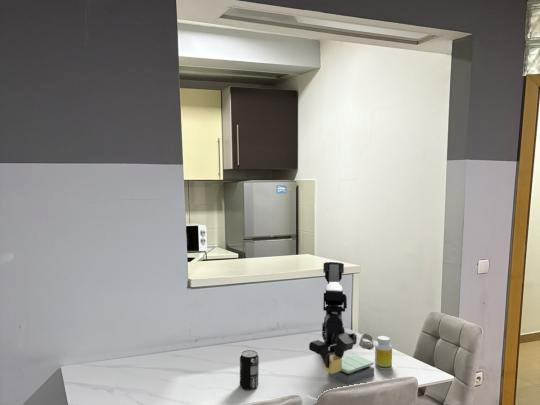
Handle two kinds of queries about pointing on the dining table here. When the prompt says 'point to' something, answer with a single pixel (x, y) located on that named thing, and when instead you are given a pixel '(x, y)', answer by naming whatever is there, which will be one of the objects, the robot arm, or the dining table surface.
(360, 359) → the grooved mint slab
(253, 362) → the beverage can
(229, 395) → the dining table surface
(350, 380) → the tub
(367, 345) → the wristwatch
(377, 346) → the pill bottle
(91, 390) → the dining table surface
